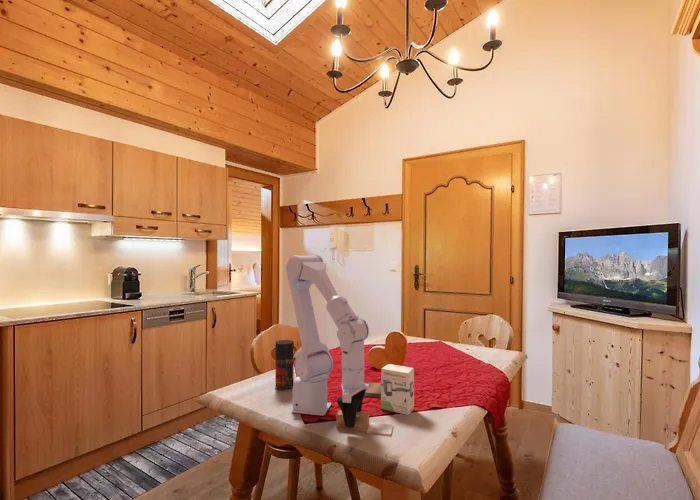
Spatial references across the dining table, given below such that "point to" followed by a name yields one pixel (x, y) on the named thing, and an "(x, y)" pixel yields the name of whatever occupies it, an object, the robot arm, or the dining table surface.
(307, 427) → the dining table surface
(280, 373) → the deodorant
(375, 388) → the board
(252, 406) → the dining table surface
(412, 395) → the ink box
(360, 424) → the blocks
